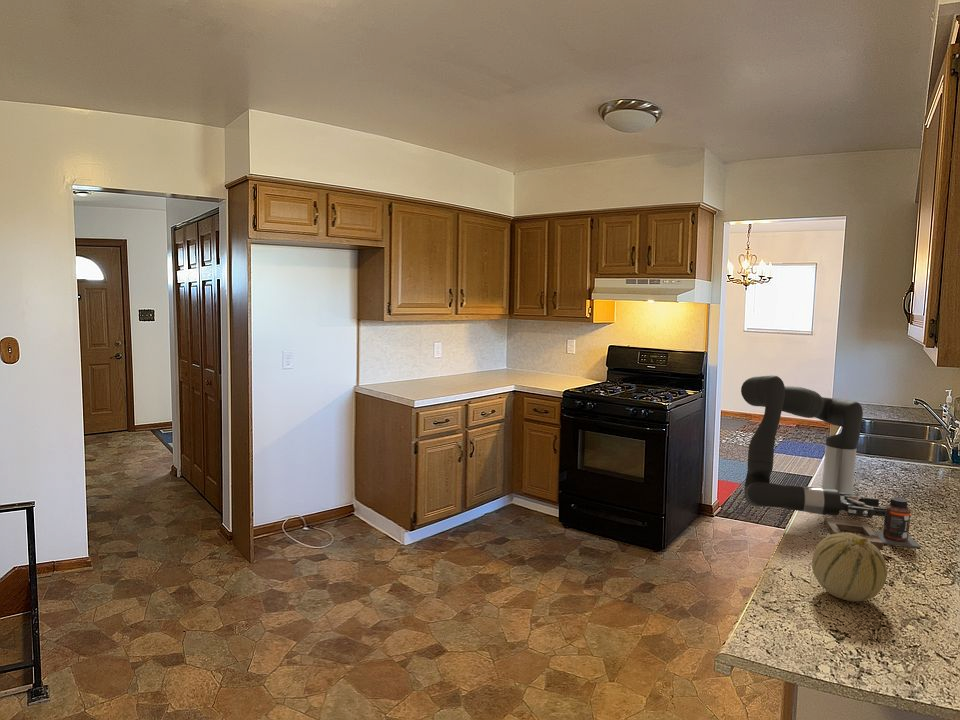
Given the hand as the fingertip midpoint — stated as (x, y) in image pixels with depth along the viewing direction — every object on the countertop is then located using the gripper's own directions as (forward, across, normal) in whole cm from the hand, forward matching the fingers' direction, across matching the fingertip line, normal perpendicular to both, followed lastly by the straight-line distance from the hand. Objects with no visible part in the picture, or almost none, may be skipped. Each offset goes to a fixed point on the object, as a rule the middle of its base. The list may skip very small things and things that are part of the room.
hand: (883, 507), depth 177 cm
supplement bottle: (+4, 0, +9) cm, 9 cm away
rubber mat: (+4, 0, +9) cm, 10 cm away
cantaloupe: (-19, -43, +9) cm, 48 cm away
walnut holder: (-7, 0, +9) cm, 11 cm away
